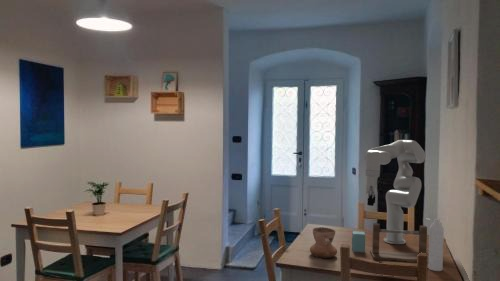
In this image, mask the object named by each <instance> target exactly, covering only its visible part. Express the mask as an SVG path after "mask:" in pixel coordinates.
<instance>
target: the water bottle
mask: <svg viewBox="0 0 500 281" xmlns="http://www.w3.org/2000/svg"><path fill="white" fill-rule="evenodd" d="M431 220H432V219H431V218H429V217H426V218H425V220H424V221H425V222H431ZM428 232H429V233H428V256H427V258H428V263H427V268H428V269H429V270H431V271H434V272H441V271H443V269H444V268H443V267H444V266H443V264H444V262H443V260H444V234H445V233H444V232H445V230H444V227H443V226H442V224H441V223H440V219H439V218H434V219H433V222H432V223H431V224H430V226H429V228H428Z"/></svg>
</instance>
